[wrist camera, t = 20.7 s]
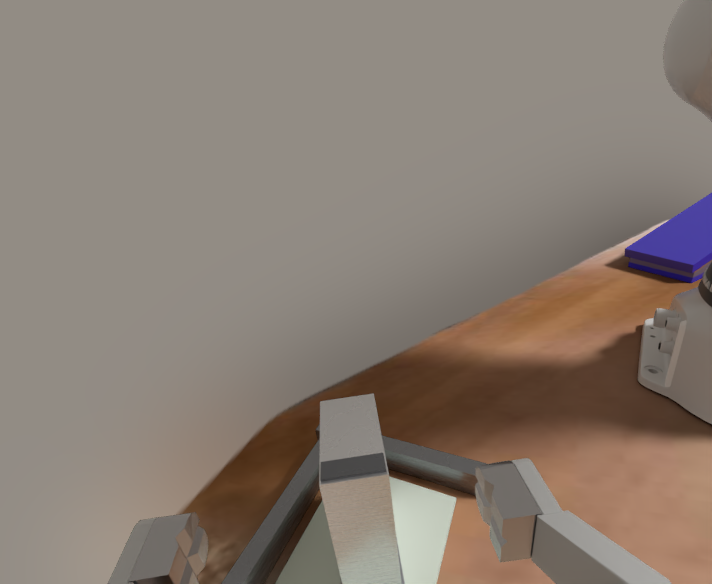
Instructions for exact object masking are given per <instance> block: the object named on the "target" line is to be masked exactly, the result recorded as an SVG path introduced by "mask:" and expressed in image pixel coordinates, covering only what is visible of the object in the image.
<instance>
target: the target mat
mask: <svg viewBox="0 0 712 584" xmlns="http://www.w3.org/2000/svg"><path fill="white" fill-rule="evenodd" d="M389 480H390V488H391V497H392V505H393V514H394V522H395V531H396V540H397V548H398V557H399V565H400V574H401V583H402V584H437V580H438V575H439V571H440V567H441V563H442V559H443V554H444V550H445V546H446V542H447V537H448V533H449V529H450V525H451V521H452V516H453V512H454V508H455V504H456V498H455V497H452V496H449V495H446V494H443V493H440V492H436V491H433V490H430V489H427V488H424V487H421V486H418V485H414V484H411V483H408V482H405V481H402V480H399V479H396V478H392V477H389ZM275 584H342V581H341V576H340V572H339V568H338V564H337V559H336V555H335V551H334V546H333V542H332V538H331V534H330V529H329V525H328V521H327V516H326V512H325V508H324V504H323V500H322V502H321V503H320V505H319V507H318V509H317V510H316V512H315V514H314V516H313V518H312V519H311V521H310V523H309V525H308V526H307V528H306V530H305V532H304V533H303V535H302V537H301V539H300V540H299V542H298V544H297V546H296V548H295V549H294V551H293V553H292V555H291V556H290V558H289V560H288V562H287V563H286V565H285V567H284V569H283V570H282V572H281V574H280V576H279V577H278V579H277V581H276V583H275Z"/></svg>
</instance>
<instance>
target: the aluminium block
mask: <svg viewBox="0 0 712 584" xmlns="http://www.w3.org/2000/svg"><path fill="white" fill-rule="evenodd" d="M319 487H320V491H321V495H322V499H323V504H324V508H325V512H326V516H327V521H328V525H329V529H330V534H331V538H332V542H333V546H334V551H335V555H336V559H337V564H338V568H339V572H340V576H341V581H342V584H402V583H401V574H400V565H399V557H398V548H397V540H396V531H395V522H394V514H393V505H392V497H391V488H390V480H389V472H388V467H387V462H386V456H385V451H384V446H383V440H382V435H381V430H380V424H379V419H378V414H377V408H376V403H375V397H374V393H373V394H366V395H360V396H353V397H346V398H340V399H333V400H326V401H320V459H319Z"/></svg>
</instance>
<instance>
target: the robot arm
mask: <svg viewBox="0 0 712 584" xmlns="http://www.w3.org/2000/svg"><path fill="white" fill-rule="evenodd" d="M663 63H664V70H665V75H666V78H667V80H668V82H669V84H670V86H671V87H672V89H673V91H674V92H675V93H676V94H677V95H678V96H679V97H680V98H681V99H682V100H684V101H685V102H686V103H688V104H690V105H692V106H693V107H695V108H696V109H698V110H699V111H700V112H702V113H703V114H704V115H705V116H706V117H707V118H708V119H709V120H710V121H711V122H712V0H683V2H682V3H681V5H680V7H679V8H678V10H677V12H676V14H675V16H674V18H673V20H672V22H671V24H670V27H669V30H668V32H667V36H666V39H665V44H664V51H663ZM638 381H639V383H640V384H642V385H643V386H645V387H647V388H649V389H651V390H653V391H655V392H657V393H660V394H662V395H664V396H667V397H669V398H670V399H672V400H674V401H675V402H677V403H678V404H680V405H681V406H682V407H684V408H685V409H687V410H688V411H689V412H691V413H692V414H694V415H696V416H697V417H699V418H701V419H703V420H704V421H706V422H708V423H710V424H712V262H711V264H710V265H709V267H708V268H707V269H706V270H705V272H704V274H703V276H702V280H701V282H700V284H699V286H698V287H697V288H694V289H692V290H689V291H686V292H683V293H680V294H678V295H676V296H675V297H674V298H673V300H672V303H671V306H670V309H669V310H667V309H661V308H658V309H656V311H655V315H654V318H651V319H647V320H645V322H644V325H643V329H642V338H641V349H640V359H639V369H638ZM475 475H476V478H477V480H478V483H477V484H476V485H475V494H476V500H477V504H478V507H479V511H480V513H481V516H482V519H483V521H484V522H485V523H487V524H488V525H489V526H490V539H491V541H492V544H493V546H494V548H495V551H496V553H497V556H498V558H499V561H500V562H507V561H514V560H522V559H529V558H532V561H533V562H534V563H535V564H536V565H537V566H538V567H539V568H540V569H541V570H542V571H543V572H544V573H545V574H546V575H547V576H548V577H550V578H551V579H552V580H553V581H554V582H555V583H556V584H671V582H670V581H669V580H668V579H667V578H665V577H664V576H663V575H661V574H660V573H658V572H657V571H655V570H654V569H652V568H651V567H649V566H648V565H647V564H645V563H644V562H642V561H641V560H639V559H638V558H636V557H635V556H633V555H632V554H631V553H629V552H628V551H626V550H625V549H623V548H622V547H620V546H619V545H618V544H616V543H615V542H613V541H612V540H610V539H609V538H607V537H606V536H604V535H603V534H602V533H600V532H599V531H597V530H596V529H594V528H593V527H591V526H590V525H588V524H587V523H586V522H584V521H583V520H581V519H580V518H578V517H577V516H575V515H574V514H572V513H571V512H570V511H562V509H561V508H560V506H559V504H558V503H557V501H556V500H555V498H554V496H553V495H552V493H551V491H550V490H549V488H548V487H547V485H546V483H545V482H544V480H543V479H542V477H541V475H540V474H539V472H538V470H537V469H536V467H535V466H534V464H533V462H532V461H531V460H530V459H529V458H523V459H518V460H512V461H503V462H497V463H492V464H486V465H481V466H477V467H476V470H475ZM199 520H200V519H199V517H198V516H197V514H196V512H194V513H187V514H180V515H173V516H166V517H158V518H151V519H145V520H140V521H139V522H138V523H137V524H136V525H135V527H134V528H133V531H132V533H131V535H130V537H129V539H128V541H127V543H126V546H125V548H124V550H123V552H122V554H121V557H120V558H119V561H118V563H117V565H116V567H115V569H114V571H113V573H112V576H111V578H110V580H109V582H108V584H199V581H198V579H197V576H198V574H199V573H200V572H201V571H202V569H203V568H204V567H205V564H206V560H207V555H208V538H207V534H206V532H205V529H203V528H201V527H199V526H198V523H199Z"/></svg>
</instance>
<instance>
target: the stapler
mask: <svg viewBox="0 0 712 584" xmlns="http://www.w3.org/2000/svg"><path fill="white" fill-rule="evenodd" d="M625 256H626V257H630V261H629V266H628V267H631V268H635V269H638V270H642V271H646V272H650V273H654V274H658V275H662V276H665V277H669V278H673V279H677V280H681V281H685V282H689V283H693V282H695V281H697V280H699V279H701V278H702V276H703V274H704V272H705V270H706V269H707V268H708V267H709V265H710V264H711V262H712V193H711V194H709V195H708V196H706V197H705V198H703V199H701V200H700V201H698V202H697V203H695V204H694V205H692V206H691V207H689V208H687V209H686V210H684V211H683V212H681V213H680V214H678V215H677V216H675V217H674V218H672V219H670V220H669V221H667V222H666V223H664V224H663V225H661V226H660V227H658V228H656V229H655V230H653V231H652V232H650V233H649V234H647V235H646V236H644V237H643V238H641V239H639V240H638V241H636V242H635V243H633V244H632V245H630V246H629V247H627V248H626V249H625Z"/></svg>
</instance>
